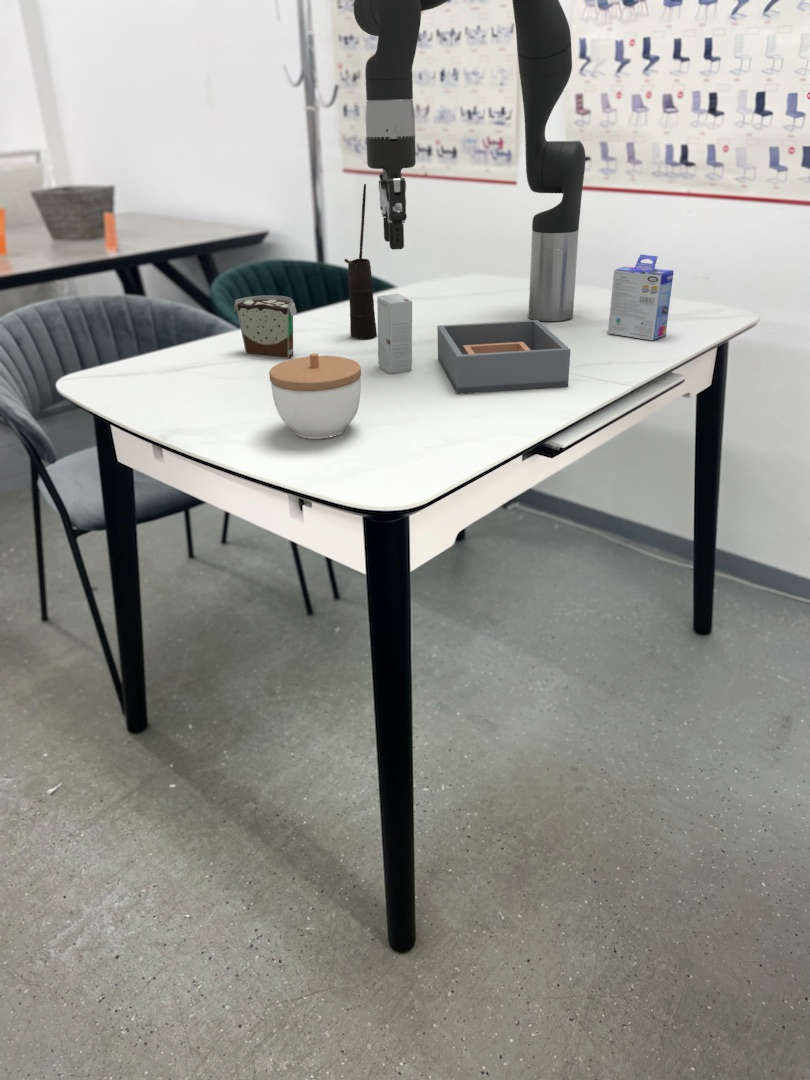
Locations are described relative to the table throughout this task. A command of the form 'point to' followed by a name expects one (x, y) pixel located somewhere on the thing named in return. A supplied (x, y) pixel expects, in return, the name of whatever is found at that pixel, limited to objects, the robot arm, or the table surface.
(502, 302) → the table surface
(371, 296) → the butter churn
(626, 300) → the ink cartridge box
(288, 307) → the food container
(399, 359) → the skincare box
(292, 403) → the lidded bowl
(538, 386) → the walled box
